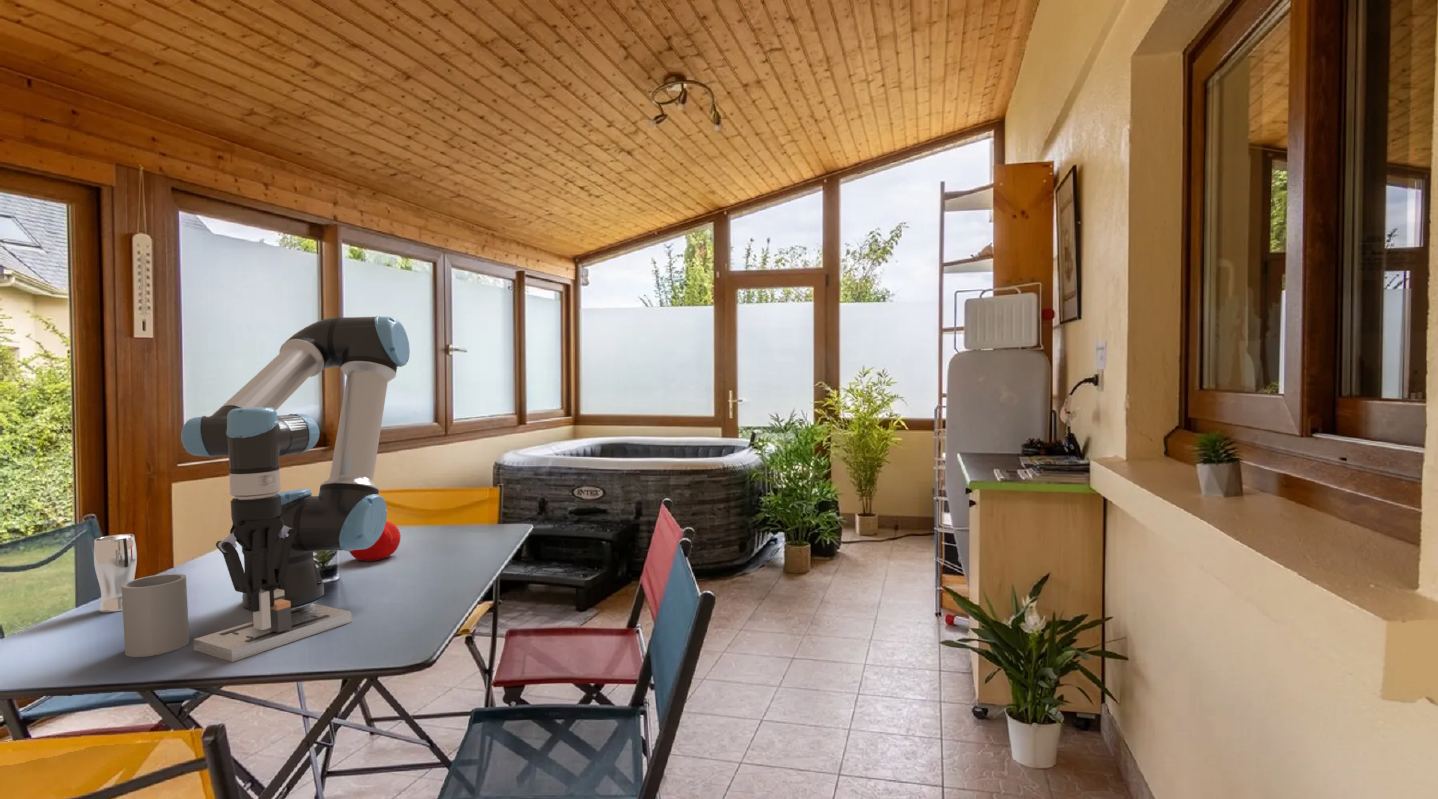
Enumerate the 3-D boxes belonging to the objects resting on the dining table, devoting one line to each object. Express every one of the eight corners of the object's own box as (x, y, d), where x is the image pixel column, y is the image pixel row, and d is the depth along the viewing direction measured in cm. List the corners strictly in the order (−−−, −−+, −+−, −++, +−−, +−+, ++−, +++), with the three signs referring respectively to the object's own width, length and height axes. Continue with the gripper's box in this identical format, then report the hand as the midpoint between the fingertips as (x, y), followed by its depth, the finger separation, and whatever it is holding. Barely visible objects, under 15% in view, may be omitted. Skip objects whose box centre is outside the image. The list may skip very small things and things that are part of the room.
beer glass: (146, 605, 157) (142, 535, 157) (108, 615, 151) (104, 542, 151) (127, 601, 160) (124, 532, 160) (89, 611, 154) (85, 539, 153)
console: (194, 650, 130) (193, 638, 130) (313, 613, 150) (313, 603, 150) (232, 662, 125) (231, 649, 125) (351, 621, 144) (351, 611, 144)
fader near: (268, 630, 133) (267, 602, 133) (281, 625, 135) (280, 598, 135) (278, 632, 132) (277, 604, 132) (291, 628, 134) (290, 601, 134)
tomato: (343, 559, 194) (341, 520, 193) (393, 550, 202) (392, 513, 202) (357, 567, 185) (355, 526, 185) (408, 557, 194) (407, 518, 194)
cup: (117, 660, 126) (113, 591, 126) (134, 642, 135) (131, 577, 134) (181, 651, 130) (178, 583, 130) (194, 634, 138) (191, 571, 138)
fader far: (263, 617, 140) (262, 591, 140) (276, 613, 142) (274, 588, 142) (272, 619, 139) (271, 593, 139) (285, 616, 141) (284, 590, 141)
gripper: (228, 503, 122) (235, 643, 124) (304, 490, 134) (310, 619, 135) (204, 500, 126) (211, 636, 127) (280, 488, 137) (286, 613, 139)
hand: (262, 627), depth 131 cm, fingers closed
